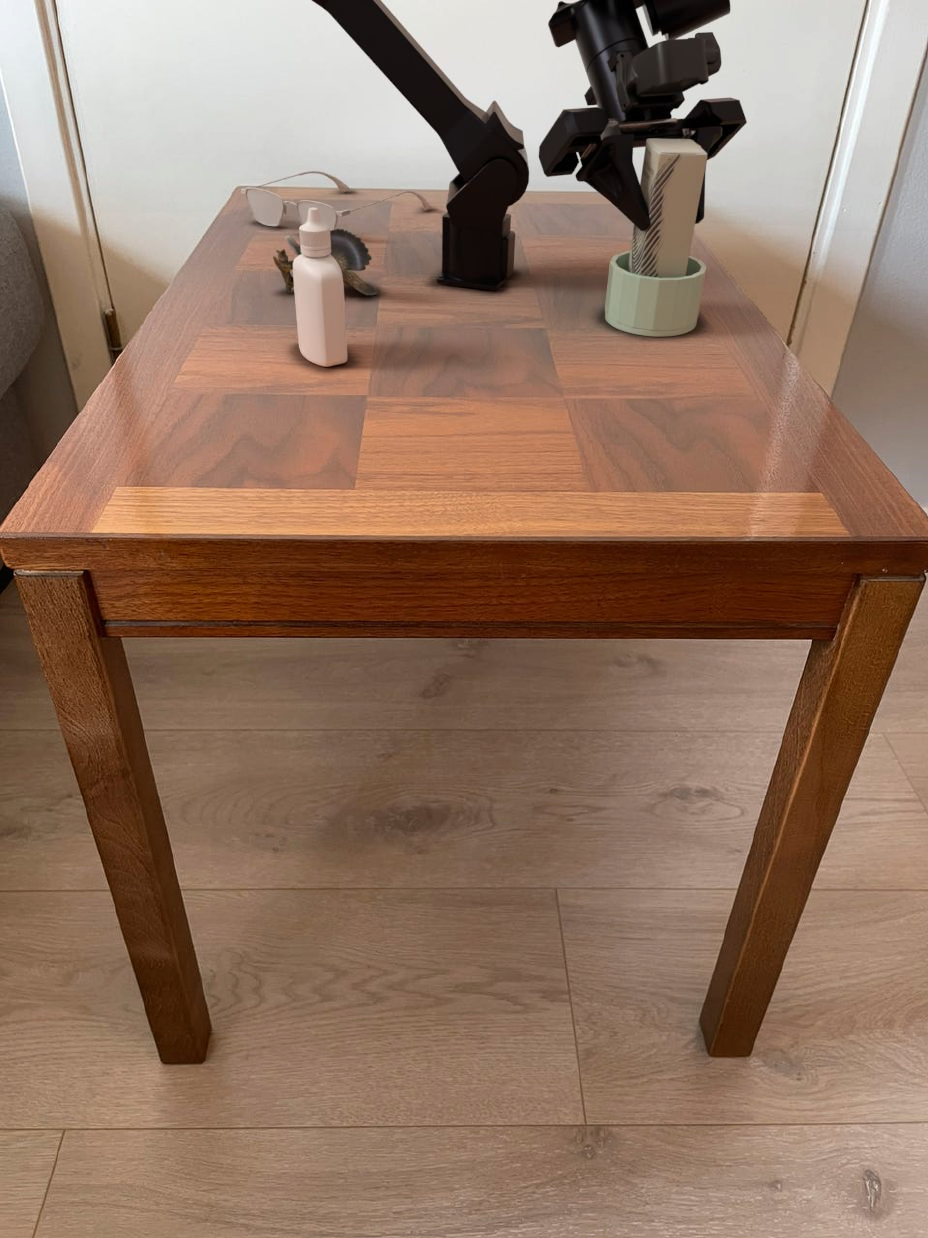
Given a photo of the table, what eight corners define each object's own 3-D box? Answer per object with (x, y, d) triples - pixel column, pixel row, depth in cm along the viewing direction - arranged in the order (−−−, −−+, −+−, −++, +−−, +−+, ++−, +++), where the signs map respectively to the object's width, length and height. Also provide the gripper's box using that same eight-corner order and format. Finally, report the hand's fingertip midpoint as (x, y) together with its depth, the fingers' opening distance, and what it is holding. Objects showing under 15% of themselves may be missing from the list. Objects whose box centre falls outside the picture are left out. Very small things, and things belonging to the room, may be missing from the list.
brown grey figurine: (281, 301, 91) (376, 281, 90) (264, 223, 90) (360, 203, 90) (294, 319, 98) (382, 300, 98) (278, 247, 98) (367, 229, 97)
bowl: (596, 329, 90) (602, 272, 87) (614, 299, 96) (620, 244, 93) (689, 342, 88) (699, 284, 85) (702, 310, 94) (711, 255, 91)
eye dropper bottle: (350, 343, 86) (343, 199, 79) (347, 368, 81) (338, 219, 74) (300, 342, 86) (288, 198, 78) (294, 368, 81) (281, 218, 74)
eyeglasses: (242, 220, 115) (238, 184, 113) (342, 189, 127) (340, 156, 125) (342, 245, 108) (340, 207, 106) (437, 210, 120) (437, 175, 118)
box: (624, 284, 93) (643, 136, 85) (669, 284, 93) (692, 137, 85) (636, 304, 88) (658, 150, 81) (684, 304, 89) (709, 151, 81)
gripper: (568, -6, 76) (630, 180, 75) (755, -10, 83) (815, 160, 82) (513, 90, 86) (567, 255, 85) (683, 80, 93) (735, 231, 92)
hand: (673, 224), depth 86 cm, fingers closed on box, 5 cm apart
